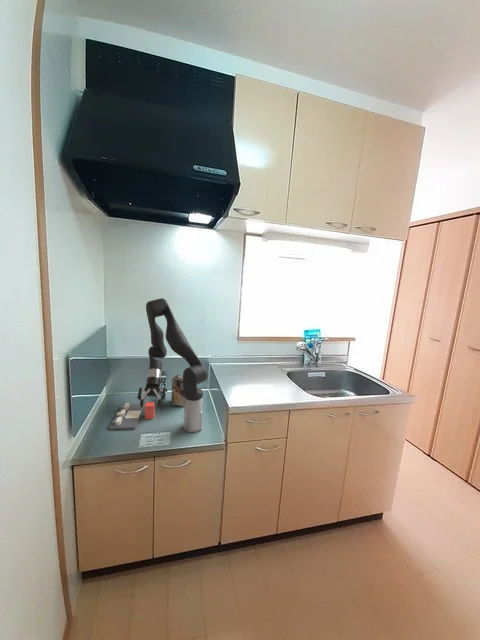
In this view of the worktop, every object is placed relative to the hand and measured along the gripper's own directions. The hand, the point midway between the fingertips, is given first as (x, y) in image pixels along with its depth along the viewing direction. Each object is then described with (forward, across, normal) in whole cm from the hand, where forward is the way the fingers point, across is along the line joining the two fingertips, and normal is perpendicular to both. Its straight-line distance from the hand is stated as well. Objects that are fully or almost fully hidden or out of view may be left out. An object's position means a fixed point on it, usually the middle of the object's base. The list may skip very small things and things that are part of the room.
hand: (150, 407), depth 141 cm
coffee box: (-6, +15, +14) cm, 21 cm away
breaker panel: (+4, -11, +3) cm, 12 cm away
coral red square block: (+4, 0, +4) cm, 5 cm away
